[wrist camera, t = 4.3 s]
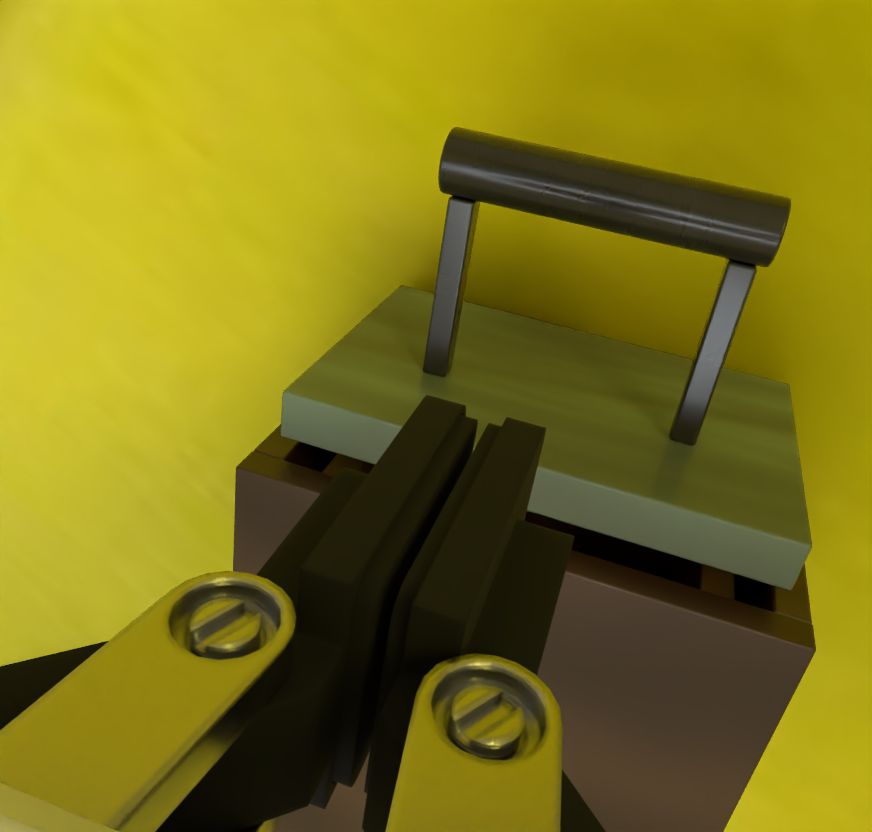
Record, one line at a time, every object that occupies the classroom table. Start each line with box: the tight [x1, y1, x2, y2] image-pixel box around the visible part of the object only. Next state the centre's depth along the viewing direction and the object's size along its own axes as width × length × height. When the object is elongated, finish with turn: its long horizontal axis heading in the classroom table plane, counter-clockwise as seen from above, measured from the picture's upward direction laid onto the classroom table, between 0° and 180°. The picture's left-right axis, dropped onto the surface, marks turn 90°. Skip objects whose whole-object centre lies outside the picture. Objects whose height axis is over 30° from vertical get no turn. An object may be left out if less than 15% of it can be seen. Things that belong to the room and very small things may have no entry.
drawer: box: [281, 127, 812, 600], centre depth 22 cm, size 18×11×8 cm, turn 171°
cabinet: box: [233, 424, 816, 832], centre depth 25 cm, size 14×13×10 cm
